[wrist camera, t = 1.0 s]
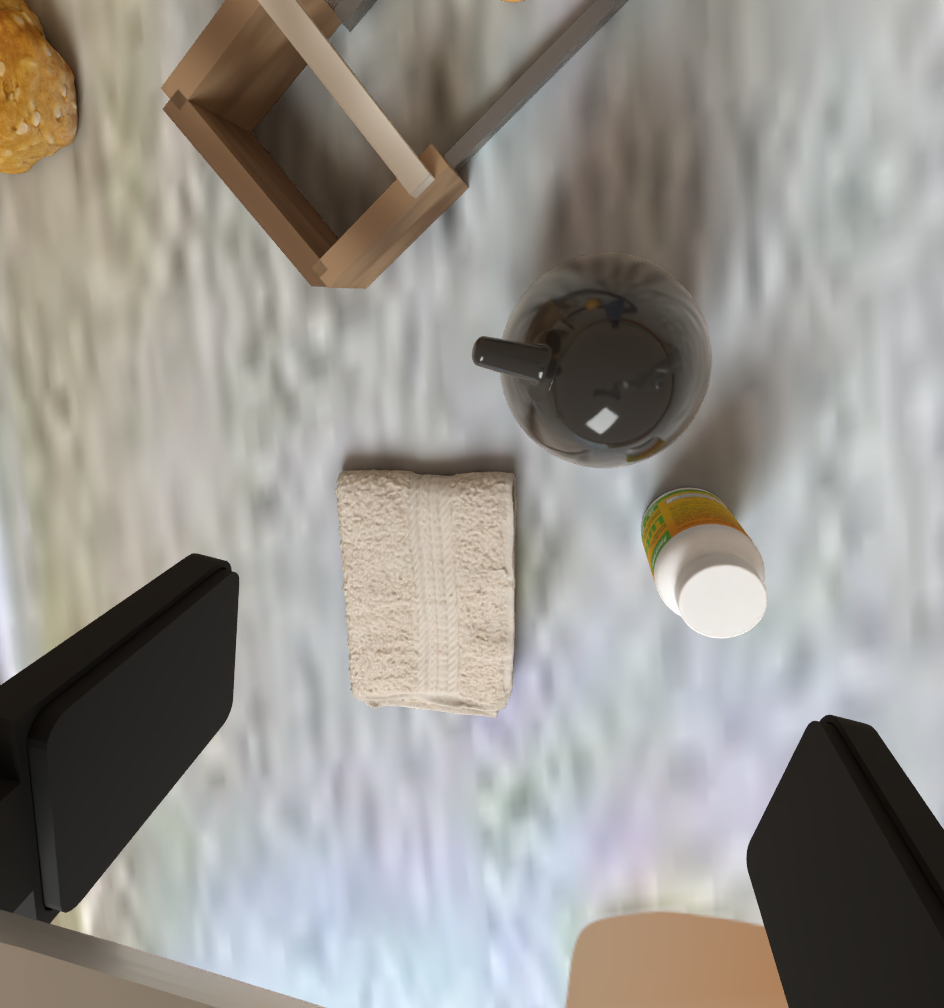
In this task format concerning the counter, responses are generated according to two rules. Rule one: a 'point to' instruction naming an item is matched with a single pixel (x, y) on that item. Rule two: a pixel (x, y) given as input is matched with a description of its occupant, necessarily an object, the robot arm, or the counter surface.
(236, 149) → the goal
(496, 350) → the pump dispenser
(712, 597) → the supplement bottle
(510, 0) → the ball
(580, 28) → the track
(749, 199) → the counter surface
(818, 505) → the counter surface
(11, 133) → the bagel
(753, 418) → the counter surface
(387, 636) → the washcloth
